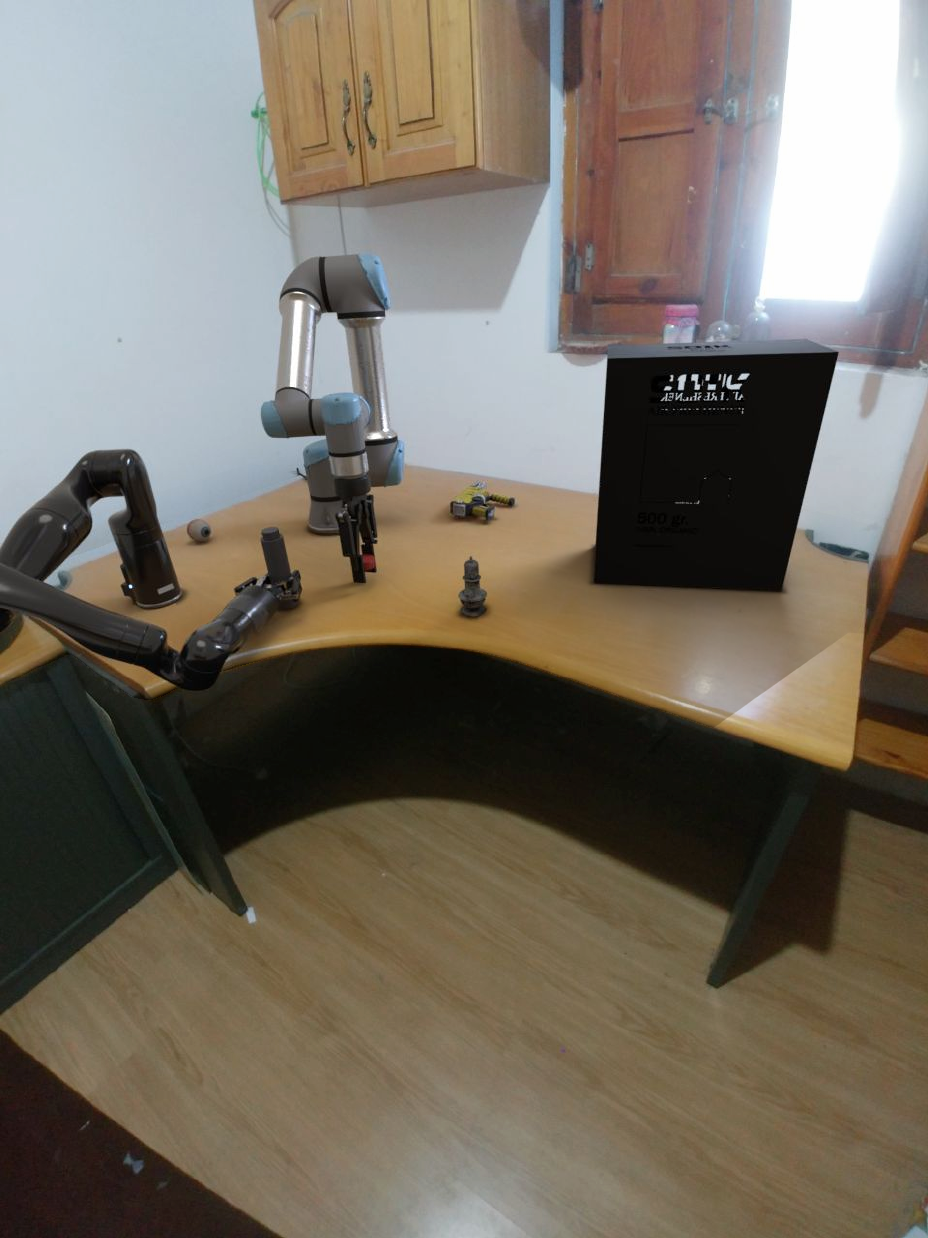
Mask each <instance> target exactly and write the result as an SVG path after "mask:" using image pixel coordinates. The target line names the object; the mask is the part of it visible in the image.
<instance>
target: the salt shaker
mask: <svg viewBox="0 0 928 1238" xmlns="http://www.w3.org/2000/svg"><path fill="white" fill-rule="evenodd" d="M463 572H464V574H463V576H462V579H463V583H464V588H463V589H462V590H461V591H459V592H458V594H457V596H458V597H457V598H458V599H459V601H460V603H461V605H462V606H461V608H460V613H461V615H463V616H466V617H479V616H482V615H484V614H486V612H487V607H486V606H485V605H484V604H485V602H486V601H487V597H488V591H486V590H485V589H483V588H481V581H480V580H482V575H480V567H479V562H478V561H477V560H475V559H473V556H472V555H469V557H468V559H467V560H465V561H464V563H463Z"/></svg>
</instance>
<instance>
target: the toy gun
mask: <svg viewBox="0 0 928 1238" xmlns="http://www.w3.org/2000/svg"><path fill="white" fill-rule="evenodd" d="M486 487H487V482H486V481H485V480H483V481H482V482H481V480H477V481H476V482H474V483H473V484H472V485H469V486H468V487H467V488H466V489H465V490H463V491H462V492H461V493H460V494H459V495H457V496H456V497H455V498H454V499H453V500H451V502H450V503H449V504H450V505H449V513H450V515H451V516H454V518H458V519H459V518H460V519H461V518H471V517H474V516H477V517H481V518H485V521H487V522H488V521H490V520H491V519H493V518H494V517H495V511H496V509H495V508H496V507H495V506H494V505H492V504H491V505H490V506H489V505H488V504H487V503H489V502H490V501H491V502H492V503H499V504H502V505H507V506H508V507H513V506H514V505H515V503H516V499H515V498H514V497H511V496H509V497H508V496H506V495H505V496H504V495H501V494H497V493H491V495H490V494H489V492H488V491H487V489H485V488H486Z"/></svg>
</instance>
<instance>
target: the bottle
mask: <svg viewBox="0 0 928 1238" xmlns="http://www.w3.org/2000/svg"><path fill="white" fill-rule="evenodd" d="M260 535H261V537H260V540H259V541H260V545H261V549H262V553H263V557H264V562H265V566H266V571H267V573H268V575H269V579H270V583H271V584H274V583H276V582H277V581H279V580H285V579H287V578H288V576H289V575H290V574H291V573H292V571H291V566H290V561H289V557H288V552H287V547H286V543H285V538H284V537H285V536H284V535H283V534H282V533H281V532H280V528H279V527H278V526H268V527H264V528H263V529H261V531H260ZM287 587H289V585H288V584H287ZM297 605H298V602H293V600H292V599H287V600H285V601H284V602H283V603H281V604H279V605H278V608H277V610H279V611H280V610H281V611H286V610H291V609H293V608H295V607H296V606H297Z"/></svg>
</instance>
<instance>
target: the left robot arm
mask: <svg viewBox="0 0 928 1238" xmlns="http://www.w3.org/2000/svg"><path fill="white" fill-rule="evenodd" d="M115 497H116V498H118V497H123V498H124V502H125V508H122V509H120V510H118V511H115V512H114V513H113V514H111V515H109V517H108V519H107V523H108V527H109V530H110V532H111V535H112V538H113V541H114V544H115V546H116V548H117V551H118V554H119V556H120V560H121V562H122V563H121V564H120V565H119V568H120V571H121V573H122V576H123V580H124V582H122V583H121V584H120V588H121V591H122V594H123V596H124V597H129V598H130V599H131V601H132V603H133V605H135V606H136V605H137V606H138V607H139V608H142V609H145V610H146V609H148V610H150V609H159V608H163V607H166V606H169V605H172V604H174V603H176V602H178V601H179V600H180V599H181V598H182V597H183V590H182V588H181V585H180V582H179V580H178V577H177V573H176V570H175V567H174V564H173V561H172V558H171V553H170V552H169V548H168V546H167V542H166V539H165V536H164V533H163V529H162V527H161V523H160V521H159V520H160V519H159V517H158V510H157V503H156V499H155V496H154V491H153V488H152V484H151V479H150V476H149V472H148V469H147V466H146V463H145V461H144V459H143V457H142V456H141V455H140V453H138V452H137V451H136V450H134V449H132V448H113V449H110V448H109V449H95V450H92V451H88V452H86V453H85V454H84V455H83V456H81V458H80V459H79V460H77V462H76V463H75V465H74V466H73V467H72V468H71V470H70V471H69V472H68V473H67V474H66V476H65V477H64V478H63V479H62V480H61V481H59V483H57V484H56V485H55V486H54V487H53V488H52V489H51V490H50V491H49V492H48V493H46V494H45V495H44V496H43V497H42V498H41V499H39V500H38V501H36V502H35V503H34V504H33V505H32V506H30V507H29V509H27V510H26V511H24V513H22V514H21V515H20V516H19V518H18V519H17V520H16V521H15V523H14V524H13V525H12V527H11V529H10V530H9V532H8V533H7V535H6V537H5V538H4V540H3V542H2V543H1V545H0V634H2V633H3V632H4V631H6V630H7V629H8V628H9V627H10V626H11V625H12V624H13V622H14V621H15V620H16V618H17V616H18V615H19V614H20V613H22V614H25V615H28V616H31V617H34V618H37V619H38V620H41V621H42V622H43V621H44V623H47V624H49V625H50V626H51V627H54V628H56V629H57V630H59V631H61V632H62V633H64V634H65V635H66V636H68V637H69V638H70V639H72V640H73V641H75V642H76V643H78V644H79V645H80V646H82V647H83V648H85V649H87V650H88V651H90V652H92V653H94V654H97V655H99V656H102V657H105V658H108V659H111V660H114V661H118V662H121V663H124V664H129V665H132V666H136V667H139V668H143V669H145V670H146V671H148V672H149V673H151V674H153V675H155V676H156V677H159V679H160V678H161V679H162V680H164V681H166V682H167V683H169V684H171V685H173V686H175V687H177V688H179V689H182V690H186V691H192V692H202V691H206V690H208V689H210V688H211V687H213V686H214V685H215V684H216V682H217V680H218V678H219V676H220V674H221V672H222V670H223V668H224V666H225V664H226V661H227V660H228V659H229V657H230V656H231V655H234V654H236V653H238V652H240V651H241V650H242V649H243V648H244V647H245V646H246V645H247V644H248V642H249V641H250V640H251V639H252V638H253V637H254V636H256V635H257V634H258V633H259V632H260V631H261V630H262V629H263V628H264V626H265V625H267V623H268V622H269V621H270V620H271V619H272V618H273V617H274V615H275V614H276V613H277V610H278V609H277V608H278V605H279V604H281V603H283V602H284V601H285V600H287V599H292V600H293V602H297V603H299V601H300V599H301V596H302V593H303V587H302V583H301V582H302V581H301V580H302V576H301V572H300V570H299V569H294V570H293V571H291V574H290V575H289V576H288V578H287V579H285V580H279V581H277V582H276V583H274V584H271V583H270V579H269V575H268V572H267V573H265V575H261V576H260V577H259V578H258V577H257V576H253V577H250V578H249V579H247V580H245V581H243V582H241V583H240V584H238V585H237V586H234V588H233V591H234V595H235V596H234V598H232V599H231V600H230V601H229V602H228V603H227V604H226V605H225V606H224V608H223V609H222V611H221V612H220V613H219V614H218V615H217V616H216V617H215V618H214V619H212V621H210V622H207V623H206V624H204V625H201V626H200V627H198V628H197V629H195V630H194V631H193V632H192V633H191V634H189V636H188V637H187V639H186V640H185V642H184V643H183V645H182V647H181V649H180V651H178V650H177V649H175V648H174V647H172V646H170V645H169V644H168V632H167V630H165V628H163V627H161V626H159V625H156V624H153V623H149V622H146V621H142V620H140V619H136V618H133V617H130V616H126V615H124V614H120V613H117V612H114V611H111V610H109V609H105V608H103V607H100V606H98V605H95V604H93V603H91V602H88V601H86V600H84V599H81V598H79V597H77V596H75V595H73V594H70V593H68V592H66V591H64V590H62V589H60V588H58V587H55V586H53V585H51V584H50V583H47V582H45V581H46V580H47V579H48V578H50V577H51V575H52V574H53V573H54V572H55V571H56V570H57V569H58V568H59V567H60V566H61V565H62V564H63V563H64V562H65V561H66V560H67V559H68V558H69V557H70V556H71V555H72V554H73V553H74V552H75V551H76V550H77V549H78V548H79V547H80V546H81V545H82V544H83V542H85V541H86V539H87V538H88V537H89V536H90V534H91V532H92V529H93V522H94V521H93V515H92V511H91V507H92V506H94V504H95V503H97V502H98V501H100V500H102V499H106V498H115ZM287 584H288V585H289V587H287Z"/></svg>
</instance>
